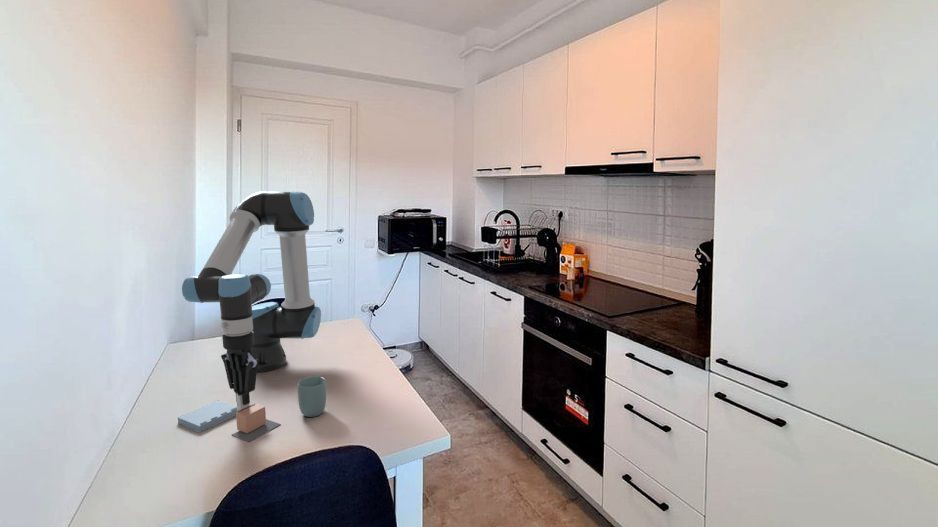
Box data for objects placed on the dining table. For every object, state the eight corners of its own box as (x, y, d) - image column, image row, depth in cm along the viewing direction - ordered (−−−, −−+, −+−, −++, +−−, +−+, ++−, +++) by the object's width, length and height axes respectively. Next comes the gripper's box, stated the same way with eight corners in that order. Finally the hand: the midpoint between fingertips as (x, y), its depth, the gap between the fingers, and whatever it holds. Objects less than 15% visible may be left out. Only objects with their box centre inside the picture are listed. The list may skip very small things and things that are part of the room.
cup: (303, 407, 135) (301, 376, 134) (329, 406, 136) (328, 375, 134) (295, 420, 128) (293, 387, 126) (323, 419, 128) (322, 386, 127)
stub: (237, 429, 122) (235, 411, 121) (256, 420, 127) (255, 402, 126) (246, 433, 120) (245, 415, 119) (266, 423, 125) (265, 406, 124)
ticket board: (178, 423, 126) (177, 416, 125) (218, 405, 136) (218, 399, 136) (200, 432, 121) (199, 425, 121) (240, 413, 132) (239, 406, 131)
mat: (231, 435, 120) (231, 434, 120) (263, 419, 129) (263, 418, 129) (249, 442, 117) (248, 441, 117) (280, 424, 125) (280, 424, 125)
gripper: (209, 332, 120) (216, 414, 124) (240, 339, 114) (247, 426, 118) (235, 325, 127) (241, 403, 130) (266, 332, 121) (271, 414, 124)
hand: (244, 414), depth 124 cm, fingers closed
